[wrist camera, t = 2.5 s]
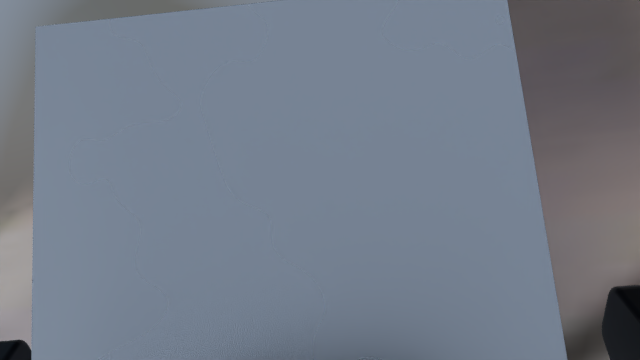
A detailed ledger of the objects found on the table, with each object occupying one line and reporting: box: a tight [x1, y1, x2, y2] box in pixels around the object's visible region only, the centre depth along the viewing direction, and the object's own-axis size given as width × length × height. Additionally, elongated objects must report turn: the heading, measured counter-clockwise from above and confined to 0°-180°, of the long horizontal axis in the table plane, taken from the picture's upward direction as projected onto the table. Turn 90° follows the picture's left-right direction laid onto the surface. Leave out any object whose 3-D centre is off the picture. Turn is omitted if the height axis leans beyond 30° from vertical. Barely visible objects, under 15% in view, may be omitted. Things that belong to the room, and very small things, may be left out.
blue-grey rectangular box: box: [31, 0, 567, 360], centre depth 12 cm, size 5×5×12 cm
